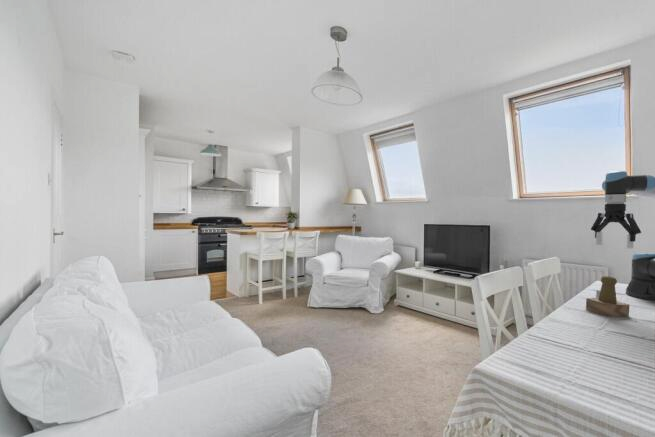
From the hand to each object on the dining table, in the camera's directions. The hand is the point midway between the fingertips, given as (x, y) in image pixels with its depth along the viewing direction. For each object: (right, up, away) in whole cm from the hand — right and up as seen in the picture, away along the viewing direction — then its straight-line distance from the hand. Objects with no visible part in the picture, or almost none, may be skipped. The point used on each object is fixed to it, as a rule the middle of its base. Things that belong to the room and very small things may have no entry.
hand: (613, 246), depth 148 cm
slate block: (-6, -28, -1) cm, 28 cm away
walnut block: (-17, -28, -14) cm, 36 cm away
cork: (-17, -23, -14) cm, 32 cm away
